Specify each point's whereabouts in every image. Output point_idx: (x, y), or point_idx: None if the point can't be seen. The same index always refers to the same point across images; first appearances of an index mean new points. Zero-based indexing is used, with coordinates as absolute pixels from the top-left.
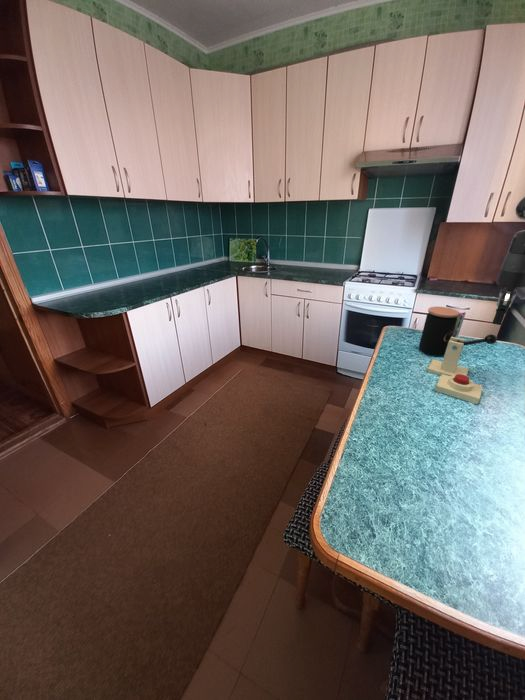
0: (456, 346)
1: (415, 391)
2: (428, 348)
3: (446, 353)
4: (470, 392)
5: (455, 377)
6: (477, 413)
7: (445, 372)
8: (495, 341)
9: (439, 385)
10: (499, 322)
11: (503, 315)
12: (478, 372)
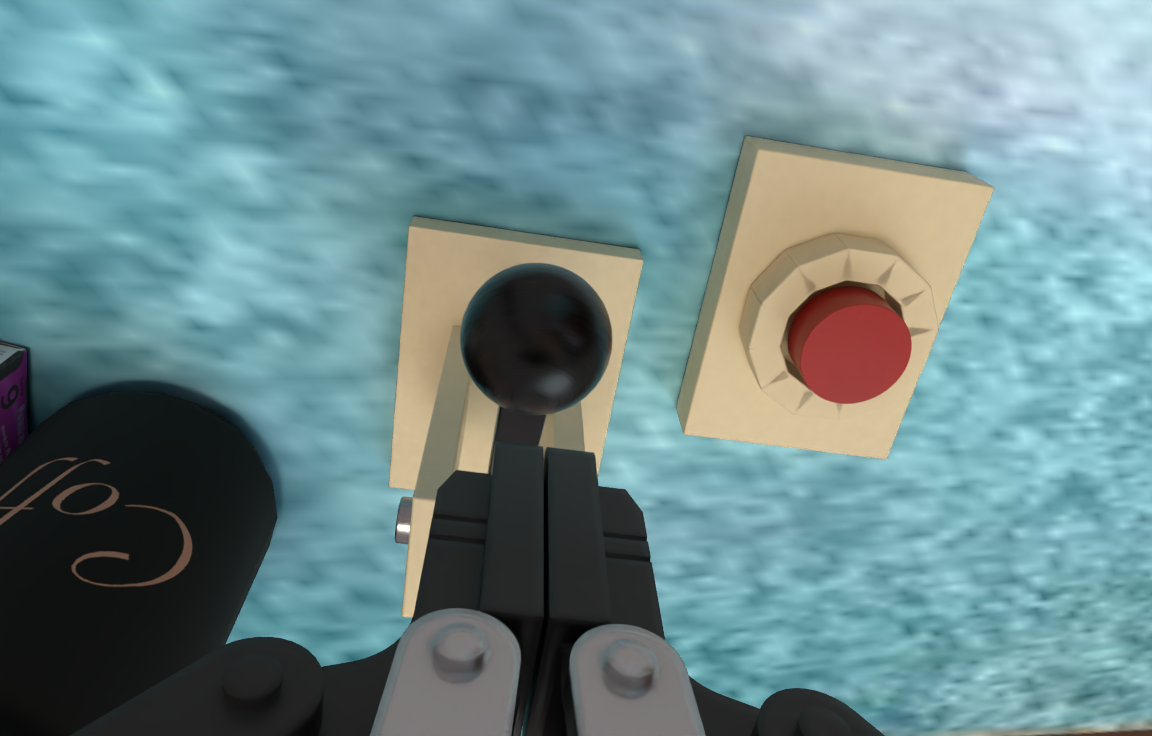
0: None
1: (917, 528)
2: (262, 557)
3: None
4: (915, 247)
5: (864, 398)
6: (1092, 179)
7: (596, 398)
8: (585, 282)
9: (881, 443)
10: (635, 514)
11: (610, 606)
12: (374, 128)
